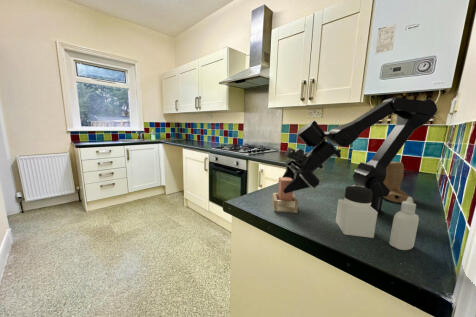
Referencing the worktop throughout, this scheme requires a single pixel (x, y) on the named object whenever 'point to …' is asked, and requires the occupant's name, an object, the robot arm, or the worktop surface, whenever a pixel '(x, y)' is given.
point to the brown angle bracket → (395, 182)
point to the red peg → (281, 186)
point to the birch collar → (284, 204)
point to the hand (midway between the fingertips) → (281, 188)
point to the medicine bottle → (357, 212)
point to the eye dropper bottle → (404, 226)
